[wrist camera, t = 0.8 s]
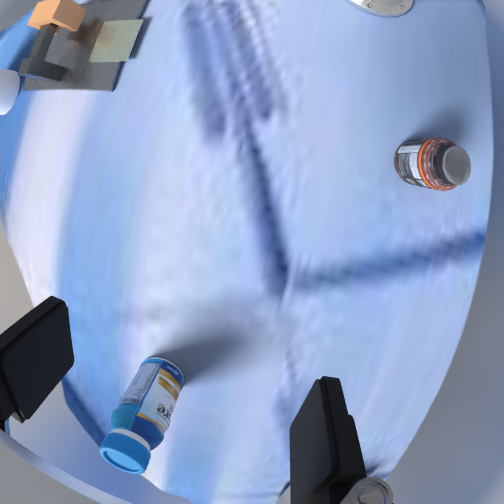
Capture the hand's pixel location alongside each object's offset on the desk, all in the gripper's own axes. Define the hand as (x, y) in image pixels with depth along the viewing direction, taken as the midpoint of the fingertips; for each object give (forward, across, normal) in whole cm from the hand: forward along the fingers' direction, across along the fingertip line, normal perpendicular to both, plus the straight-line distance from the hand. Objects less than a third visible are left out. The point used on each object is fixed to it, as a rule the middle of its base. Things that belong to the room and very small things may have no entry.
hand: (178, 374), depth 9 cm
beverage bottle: (+29, +8, +30) cm, 43 cm away
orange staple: (+26, +34, -25) cm, 50 cm away
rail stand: (+29, +32, -22) cm, 49 cm away
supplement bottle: (+29, -19, -13) cm, 37 cm away
